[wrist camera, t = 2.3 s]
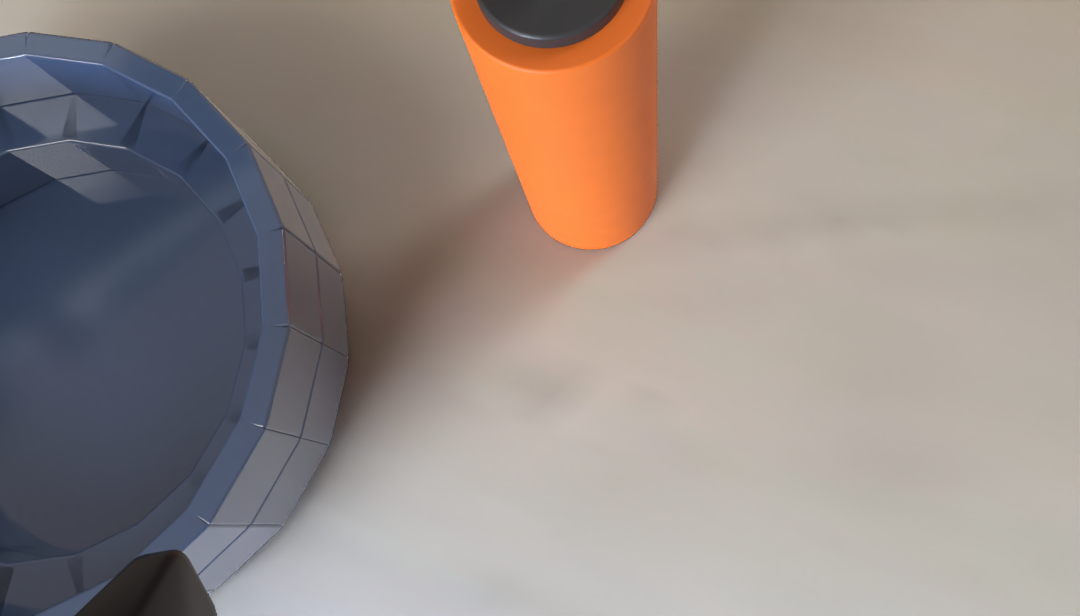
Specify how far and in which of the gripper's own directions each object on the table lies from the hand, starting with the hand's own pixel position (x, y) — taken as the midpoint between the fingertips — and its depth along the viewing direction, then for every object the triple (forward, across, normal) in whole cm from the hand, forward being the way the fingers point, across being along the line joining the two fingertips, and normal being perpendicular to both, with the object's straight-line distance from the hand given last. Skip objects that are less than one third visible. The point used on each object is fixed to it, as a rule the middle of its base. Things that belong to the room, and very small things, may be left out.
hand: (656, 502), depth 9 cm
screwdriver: (+15, 0, +4) cm, 16 cm away
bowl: (+14, +13, +5) cm, 20 cm away
